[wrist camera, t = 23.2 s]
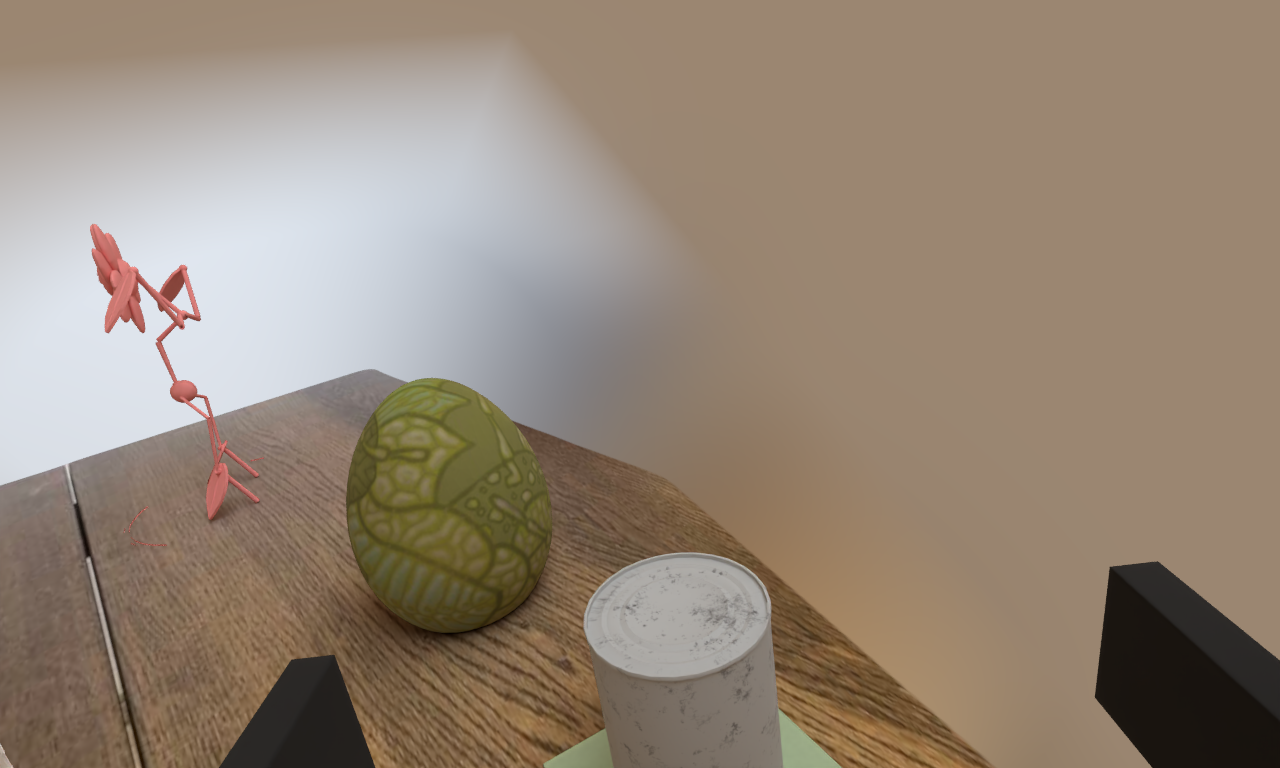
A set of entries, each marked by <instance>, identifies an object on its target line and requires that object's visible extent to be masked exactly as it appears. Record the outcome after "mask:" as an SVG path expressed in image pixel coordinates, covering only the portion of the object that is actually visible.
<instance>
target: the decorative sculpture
mask: <svg viewBox="0 0 1280 768" xmlns="http://www.w3.org/2000/svg"><path fill="white" fill-rule="evenodd" d="M346 508H347V524H348V531H349V537H350V541H351V545H352V549H353V552H354V555H355V558H356V561H357V563H358V566H359V568H360V570H361V572H362V574H363V576H364V578H365V580H366V582H367V583H368V585H369V586H370V588H371V589H372V590H373V592H374V593H375V594H376V596H377V597H378V598H379V599H380V600H381V601H382V603H383V604H384V605H385V606H386V607H388V608H389V609H390V610H391V611H392V612H393V613H395V614H396V615H398V616H399V617H401V618H402V619H404V620H406V621H407V622H409V623H411V624H413V625H415V626H417V627H420V628H422V629H425V630H428V631H434V632H440V633H457V632H464V631H470V630H473V629H476V628H480V627H483V626H486V625H489V624H491V623H493V622H495V621H497V620H499V619H501V618H502V617H504V616H506V615H507V614H509V613H510V612H512V611H513V610H514V609H515V608H517V607H518V606H519V605H520V604H522V602H523V601H524V600H525V599H526V598H527V597H528V596H529V594H530V593H531V591H532V590H533V588H534V587H535V585H536V583H537V581H538V579H539V577H540V576H541V574H542V571H543V569H544V566H545V564H546V560H547V557H548V553H549V549H550V544H551V537H552V510H551V502H550V497H549V491H548V488H547V484H546V481H545V478H544V475H543V472H542V469H541V467H540V465H539V463H538V460H537V458H536V456H535V454H534V452H533V450H532V449H531V447H530V445H529V444H528V442H527V440H526V439H525V437H524V436H523V434H522V433H521V432H520V430H519V429H518V428H517V427H516V425H515V424H514V423H513V422H512V421H511V420H510V418H509V417H508V416H507V415H506V414H504V413H503V412H502V411H501V410H500V409H499V408H498V407H497V406H496V405H494V404H493V403H492V402H491V401H489V400H488V399H487V398H485V397H484V396H482V395H481V394H479V393H478V392H476V391H474V390H472V389H471V388H469V387H466V386H464V385H462V384H460V383H457V382H454V381H450V380H445V379H438V378H425V379H419V380H415V381H412V382H409V383H407V384H404V385H402V386H401V387H399V388H398V389H396V390H395V391H393V392H392V393H391V394H390V395H389V396H388V397H387V398H386V399H385V400H384V401H383V402H382V403H381V404H380V405H379V406H378V407H377V409H376V410H375V412H374V413H373V414H372V416H371V417H370V419H369V421H368V422H367V424H366V426H365V428H364V430H363V432H362V434H361V436H360V438H359V440H358V443H357V446H356V448H355V451H354V454H353V458H352V462H351V466H350V470H349V477H348V483H347V496H346Z"/></svg>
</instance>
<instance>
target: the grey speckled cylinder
mask: <svg viewBox="0 0 1280 768" xmlns="http://www.w3.org/2000/svg"><path fill="white" fill-rule="evenodd" d="M770 620H771V600H770V598H769V595H768V592H767V590H766V587H765V586H764V585H763V583H762V582H761V581H760V579H759V578H758V577H757V576H756V575H755V574H754V573H752V572H751V571H750V570H749V569H747V568H746V567H745V566H743V565H741V564H738V563H736V562H734V561H732V560H730V559H727V558H723V557H719V556H716V555H711V554H703V553H672V554H666V555H659V556H655V557H652V558H648V559H645V560H641V561H639V562H637V563H634V564H632V565H630V566H627V567H625V568H623V569H622V570H620V571H619V572H617V573H616V574H614V575H612V576H611V577H610V578H608V579H607V580H606V581H605V582H604V583H603V584H602V585H601V586H600V587H599V588H598V589H597V590H596V592H595V593H594V595H593V596H592V597H591V599H590V600H589V603H588V606H587V608H586V611H585V614H584V632H585V635H586V639H587V642H588V645H589V648H590V653H591V658H592V663H593V668H594V673H595V678H596V683H597V688H598V693H599V698H600V703H601V708H602V713H603V718H604V723H605V728H606V732H607V737H608V742H609V747H610V752H611V757H612V762H613V767H614V768H783V757H782V746H781V734H780V723H779V712H778V700H777V689H776V677H775V666H774V655H773V643H772V632H771V621H770Z"/></svg>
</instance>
